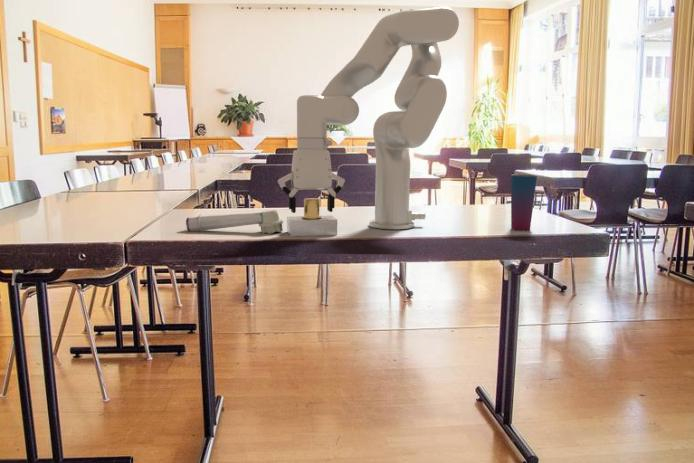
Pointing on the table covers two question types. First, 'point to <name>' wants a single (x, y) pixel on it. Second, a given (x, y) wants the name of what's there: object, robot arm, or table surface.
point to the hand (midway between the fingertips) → (311, 211)
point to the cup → (522, 200)
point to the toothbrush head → (237, 221)
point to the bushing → (311, 209)
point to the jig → (311, 226)
